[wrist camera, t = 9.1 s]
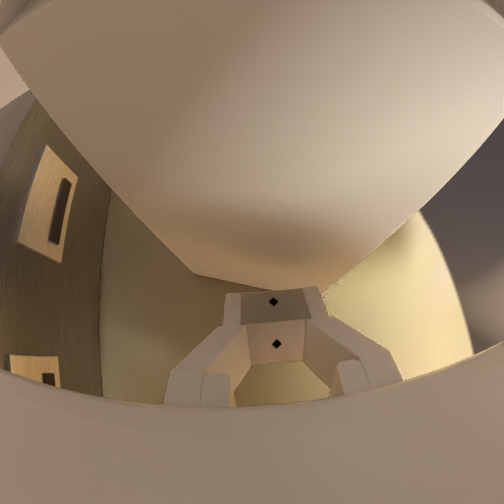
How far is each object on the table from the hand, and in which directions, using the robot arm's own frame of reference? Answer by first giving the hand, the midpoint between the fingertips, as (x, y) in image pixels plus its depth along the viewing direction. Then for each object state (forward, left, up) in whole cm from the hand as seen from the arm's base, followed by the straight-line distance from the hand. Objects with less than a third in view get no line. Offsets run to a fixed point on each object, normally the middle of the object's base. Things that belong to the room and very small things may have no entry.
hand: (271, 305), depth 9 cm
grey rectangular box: (+9, +10, -6) cm, 15 cm away
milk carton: (+4, -4, -6) cm, 8 cm away
